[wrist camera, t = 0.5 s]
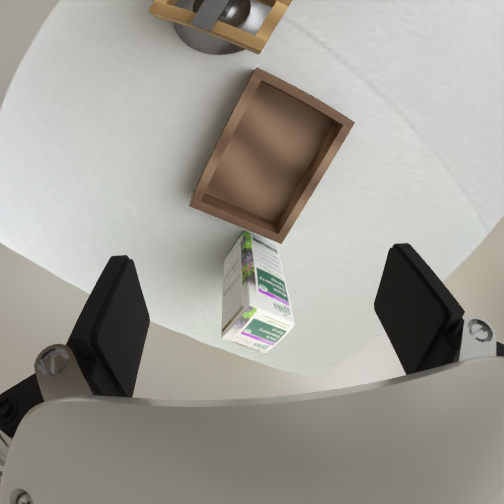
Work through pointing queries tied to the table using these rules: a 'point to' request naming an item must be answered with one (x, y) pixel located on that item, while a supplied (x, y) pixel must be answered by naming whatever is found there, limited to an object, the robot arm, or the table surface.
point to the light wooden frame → (254, 43)
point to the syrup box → (255, 295)
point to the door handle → (227, 11)
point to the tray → (270, 157)
